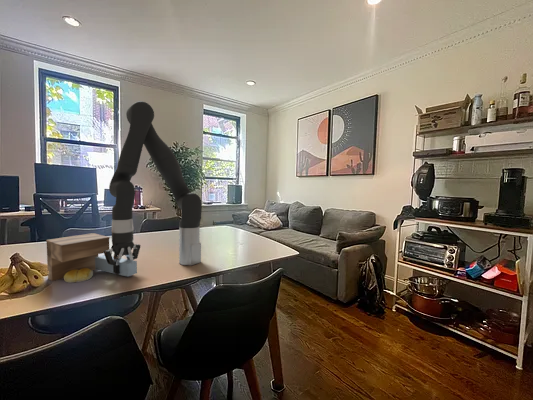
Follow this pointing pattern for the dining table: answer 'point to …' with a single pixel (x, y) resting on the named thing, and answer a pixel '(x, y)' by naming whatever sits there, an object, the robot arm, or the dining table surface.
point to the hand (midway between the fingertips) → (123, 271)
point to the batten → (125, 266)
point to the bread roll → (78, 275)
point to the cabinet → (74, 253)
